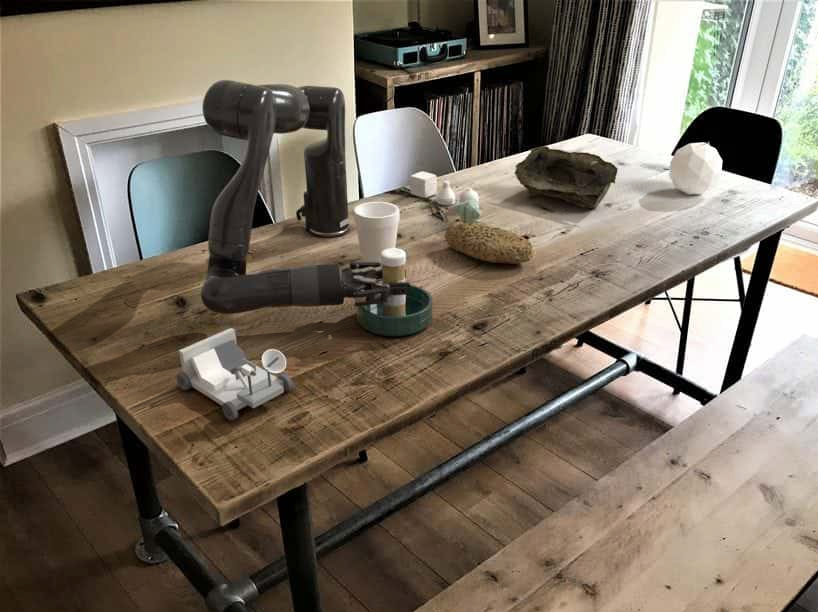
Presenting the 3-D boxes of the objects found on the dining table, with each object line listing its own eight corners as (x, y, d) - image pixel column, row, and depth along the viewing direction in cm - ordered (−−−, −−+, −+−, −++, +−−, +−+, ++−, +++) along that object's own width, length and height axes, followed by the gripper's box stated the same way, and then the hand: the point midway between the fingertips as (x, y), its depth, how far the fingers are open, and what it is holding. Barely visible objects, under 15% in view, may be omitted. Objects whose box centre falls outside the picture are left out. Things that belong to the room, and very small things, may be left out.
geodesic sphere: (685, 156, 226) (680, 123, 215) (734, 166, 219) (731, 132, 208) (663, 198, 223) (657, 166, 211) (712, 209, 216) (708, 177, 204)
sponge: (439, 255, 180) (494, 269, 165) (441, 220, 178) (497, 231, 163) (484, 252, 188) (541, 265, 173) (486, 219, 186) (543, 229, 171)
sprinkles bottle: (377, 317, 150) (375, 252, 143) (394, 309, 153) (393, 245, 146) (394, 325, 148) (393, 259, 141) (411, 316, 151) (411, 252, 144)
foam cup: (406, 261, 174) (406, 205, 167) (389, 278, 166) (388, 220, 160) (367, 254, 177) (365, 199, 170) (349, 271, 169) (346, 213, 162)
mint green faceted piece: (450, 225, 193) (451, 199, 189) (459, 220, 196) (460, 194, 192) (477, 233, 189) (478, 206, 185) (486, 228, 192) (488, 201, 188)
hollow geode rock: (610, 230, 205) (636, 181, 206) (596, 208, 194) (624, 156, 195) (522, 201, 219) (547, 155, 221) (505, 178, 208) (531, 130, 210)
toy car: (299, 346, 123) (237, 376, 115) (304, 398, 128) (245, 430, 120) (229, 309, 132) (168, 334, 125) (236, 359, 137) (177, 386, 130)
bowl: (345, 330, 147) (343, 309, 145) (376, 298, 159) (376, 278, 156) (415, 345, 143) (415, 323, 141) (442, 310, 155) (443, 290, 153)
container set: (410, 195, 210) (410, 175, 207) (422, 190, 213) (422, 170, 211) (470, 213, 200) (471, 192, 197) (482, 207, 203) (483, 187, 201)
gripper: (316, 284, 136) (413, 279, 139) (313, 250, 148) (402, 246, 151) (319, 322, 140) (413, 316, 143) (316, 286, 152) (403, 281, 155)
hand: (407, 280), depth 147 cm, fingers open, 6 cm apart
